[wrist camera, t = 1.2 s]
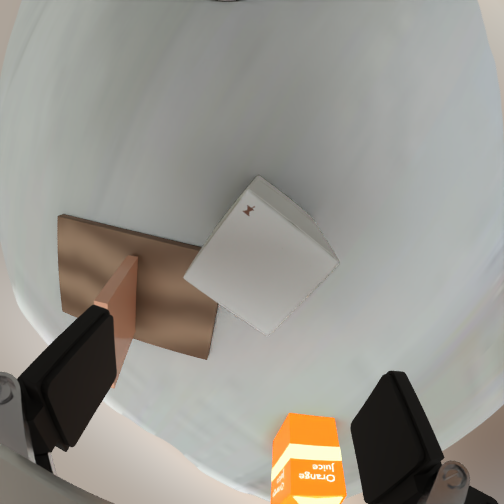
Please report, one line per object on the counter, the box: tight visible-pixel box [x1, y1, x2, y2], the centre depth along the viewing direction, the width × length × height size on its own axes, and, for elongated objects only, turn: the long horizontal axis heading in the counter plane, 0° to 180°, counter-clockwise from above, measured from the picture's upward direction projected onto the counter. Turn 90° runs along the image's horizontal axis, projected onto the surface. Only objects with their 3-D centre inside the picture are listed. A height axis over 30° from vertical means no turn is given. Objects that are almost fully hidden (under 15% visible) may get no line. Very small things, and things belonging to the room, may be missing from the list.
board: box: [58, 214, 218, 360], centre depth 32 cm, size 14×22×1 cm, turn 78°
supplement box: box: [183, 175, 340, 336], centre depth 24 cm, size 7×7×13 cm
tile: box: [94, 255, 138, 388], centre depth 26 cm, size 10×10×1 cm
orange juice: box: [271, 413, 346, 504], centre depth 30 cm, size 8×9×20 cm
